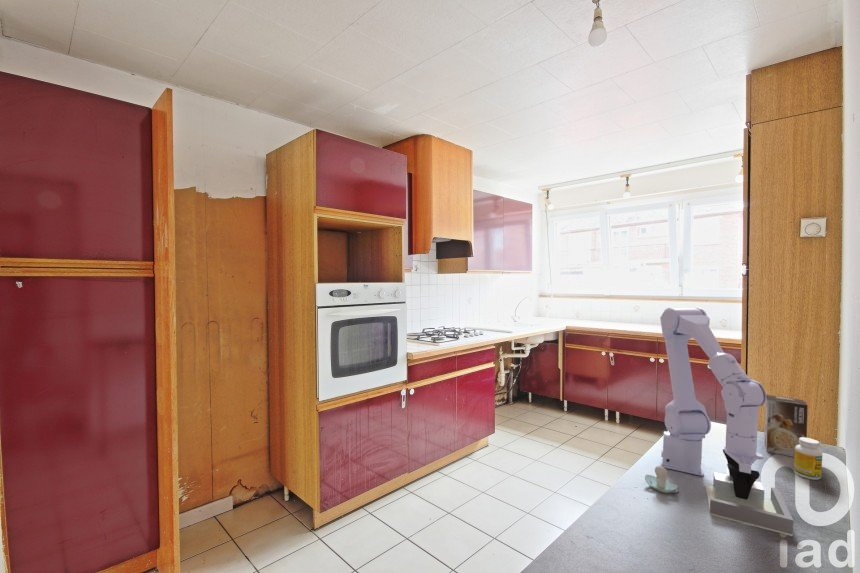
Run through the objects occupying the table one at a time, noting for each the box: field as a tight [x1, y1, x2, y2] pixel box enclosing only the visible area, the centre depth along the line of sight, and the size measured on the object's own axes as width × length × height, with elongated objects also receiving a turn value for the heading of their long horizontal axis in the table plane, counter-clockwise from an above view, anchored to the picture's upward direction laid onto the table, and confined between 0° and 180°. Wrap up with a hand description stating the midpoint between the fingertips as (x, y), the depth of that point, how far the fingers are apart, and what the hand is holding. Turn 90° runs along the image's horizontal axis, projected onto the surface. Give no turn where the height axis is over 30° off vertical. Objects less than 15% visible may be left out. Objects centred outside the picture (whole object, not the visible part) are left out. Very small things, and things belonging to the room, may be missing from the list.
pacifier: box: [644, 465, 679, 494], centre depth 101 cm, size 7×6×6 cm
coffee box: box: [763, 394, 809, 458], centre depth 122 cm, size 9×6×16 cm
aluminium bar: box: [712, 471, 765, 510], centre depth 95 cm, size 9×4×5 cm, turn 60°
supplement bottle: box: [793, 437, 823, 481], centre depth 108 cm, size 5×5×10 cm
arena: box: [704, 484, 794, 537], centre depth 93 cm, size 14×14×3 cm
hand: (738, 489), depth 95 cm, fingers open, 7 cm apart
